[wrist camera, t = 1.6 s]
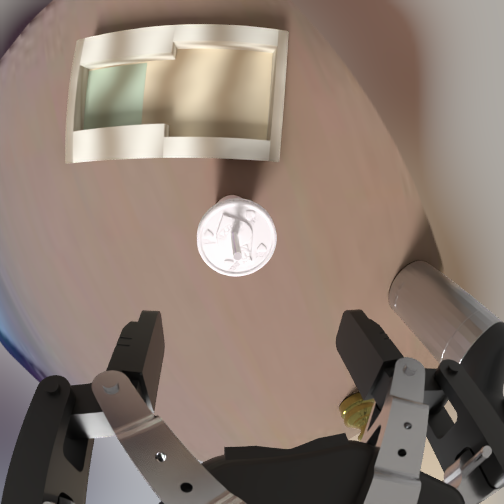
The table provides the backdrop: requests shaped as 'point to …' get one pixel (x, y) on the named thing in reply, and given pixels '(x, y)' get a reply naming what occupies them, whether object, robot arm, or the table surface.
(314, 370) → the table surface
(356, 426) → the olive green stacked toy
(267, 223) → the smoothie
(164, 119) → the cream rectangular tray
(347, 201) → the table surface
